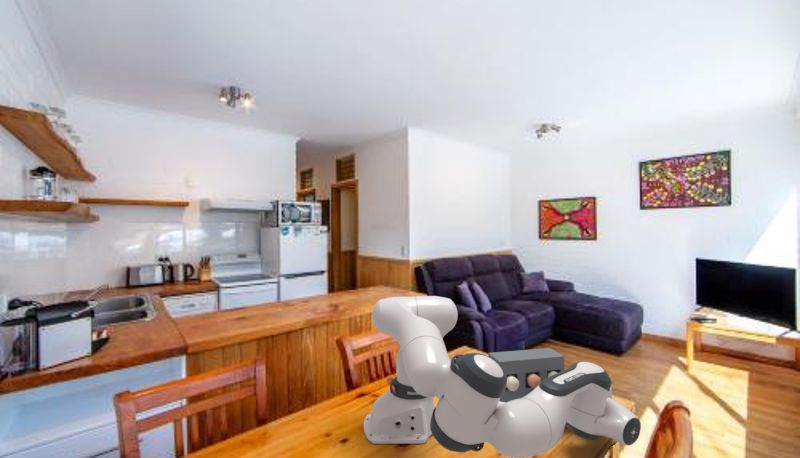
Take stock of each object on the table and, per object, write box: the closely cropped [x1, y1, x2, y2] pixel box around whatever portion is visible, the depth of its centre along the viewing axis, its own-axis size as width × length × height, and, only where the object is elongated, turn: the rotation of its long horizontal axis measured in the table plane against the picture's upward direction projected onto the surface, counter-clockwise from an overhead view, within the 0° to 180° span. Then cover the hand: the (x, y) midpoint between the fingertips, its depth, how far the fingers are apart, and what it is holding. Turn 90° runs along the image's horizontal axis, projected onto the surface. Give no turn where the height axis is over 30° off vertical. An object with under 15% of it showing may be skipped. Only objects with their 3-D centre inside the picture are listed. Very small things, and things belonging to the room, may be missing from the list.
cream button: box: [506, 376, 519, 391], centre depth 114 cm, size 4×2×4 cm, turn 102°
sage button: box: [547, 370, 557, 378], centre depth 118 cm, size 4×2×4 cm, turn 102°
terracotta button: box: [526, 373, 541, 389], centre depth 115 cm, size 4×2×4 cm, turn 102°
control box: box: [487, 347, 565, 402], centre depth 120 cm, size 24×8×16 cm, turn 102°
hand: (556, 379), depth 116 cm, fingers closed
